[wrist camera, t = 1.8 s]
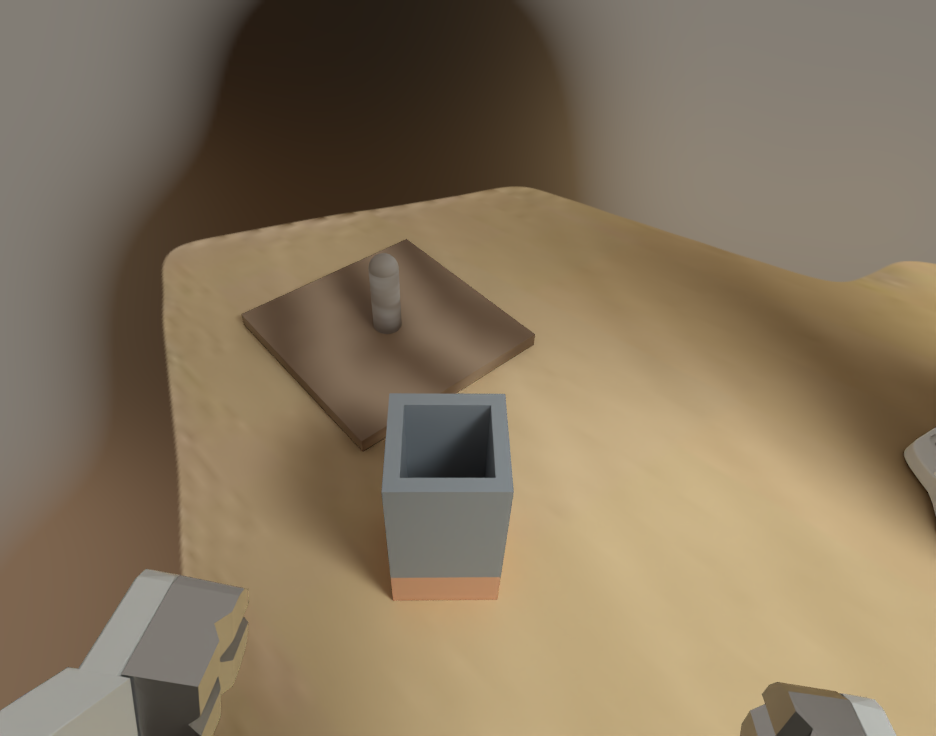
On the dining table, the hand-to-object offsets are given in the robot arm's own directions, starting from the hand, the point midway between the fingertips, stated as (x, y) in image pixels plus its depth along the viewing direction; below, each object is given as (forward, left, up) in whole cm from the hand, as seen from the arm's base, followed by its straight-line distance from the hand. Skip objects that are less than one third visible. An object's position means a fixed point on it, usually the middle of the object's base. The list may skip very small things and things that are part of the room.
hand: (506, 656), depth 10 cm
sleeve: (-8, -11, -22) cm, 26 cm away
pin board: (-16, -27, -22) cm, 39 cm away
